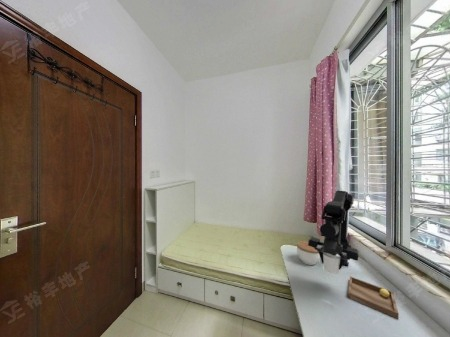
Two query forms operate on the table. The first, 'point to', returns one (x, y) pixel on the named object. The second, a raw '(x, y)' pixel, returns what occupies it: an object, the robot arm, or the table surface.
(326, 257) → the white cup
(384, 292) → the ball
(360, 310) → the table surface
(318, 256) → the lidded bowl
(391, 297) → the tray
